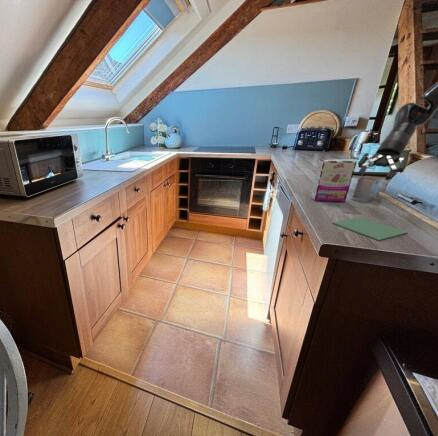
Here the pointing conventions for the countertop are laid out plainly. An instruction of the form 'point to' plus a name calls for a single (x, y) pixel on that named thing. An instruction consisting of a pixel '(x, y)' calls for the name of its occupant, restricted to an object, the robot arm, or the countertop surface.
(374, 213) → the countertop surface
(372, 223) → the green mat
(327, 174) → the candy bar box
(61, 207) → the countertop surface
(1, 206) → the countertop surface
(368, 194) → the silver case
